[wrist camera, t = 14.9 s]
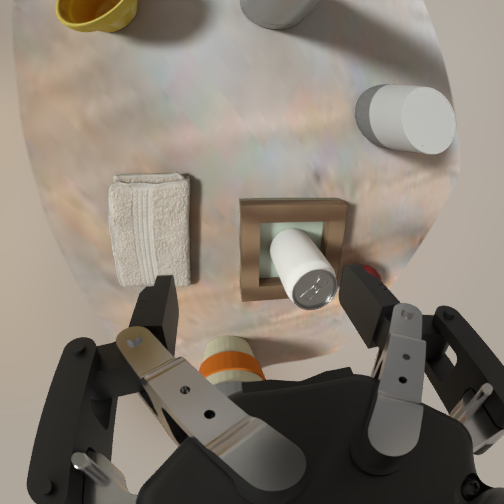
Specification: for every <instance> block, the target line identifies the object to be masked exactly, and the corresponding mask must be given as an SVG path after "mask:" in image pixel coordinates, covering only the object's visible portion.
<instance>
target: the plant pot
mask: <svg viewBox="0 0 504 504" xmlns="http://www.w3.org/2000/svg"><path fill="white" fill-rule="evenodd" d="M136 12H137V0H57V2H56V15H57V17H58V19H59V21H60V22H61V23H62V24H64V25H65V26H67V27H69V28H71V29H73V30H76V31H79V32H93V31H102V32H114V31H118V30H120V29H122V28H124V27H125V26H127V25H128V24H129V23H130V22H131V21H132V20H133V18H134V17H135V15H136Z"/></svg>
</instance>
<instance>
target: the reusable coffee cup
mask: <svg viewBox="0 0 504 504" xmlns="http://www.w3.org/2000/svg"><path fill="white" fill-rule="evenodd" d="M199 372H200V373H201V374H202V375H203V376H204V377H205V378H206V379H207V380H208V381H209V382H210V383H212V384H213V385H214V386H215V387H216V388H217V389H218V390H219V391H221V392H222V393H223V394H224V395H225V396H226V397H227V396H229V395H231V394H233V393H236V392H238V391H242V389H241V382H251V381H261V380H266V379H265V377H264V374H263V372H262V369H261V367H260V364H259V362H258V361H257V359H255V358H254V355H253V352H252V350H251V347H250V345H249V343H248V342H247V341H246V340H244V339H242V338H240V337H237V336H222V337H218V338H216V339H214V340H212V341H211V342H210V343H209V344H208V345H207V346H206V349H205V353H204V359H203V363H202V364H201V366H200V369H199Z"/></svg>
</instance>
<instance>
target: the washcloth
mask: <svg viewBox="0 0 504 504" xmlns="http://www.w3.org/2000/svg"><path fill="white" fill-rule="evenodd" d="M113 178H114V179H113V184H112V185H111V186H110V188H109V195H108V197H109V216H108V223H109V227H110V234H111V241H112V251H113V255H114V259H115V264H116V272H117V276H118V281H119V283H120V285H121V287H138V286H144V285H154V283H155V280H156V277H157V275H173V276H174V280H175V287H187V286H189V285H190V284H191V275H190V273H191V272H190V270H191V268H190V258H189V257H190V253H189V251H190V248H189V247H190V243H189V241H190V236H189V234H190V232H189V213H190V212H189V207H190V205H189V204H190V203H189V198H190V179H189V175H188V176H182V175H181V174H179V173H177V172H176V173H172V174H170V173H156V174H121V175H114V177H113Z"/></svg>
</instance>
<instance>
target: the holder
mask: <svg viewBox="0 0 504 504" xmlns="http://www.w3.org/2000/svg"><path fill="white" fill-rule="evenodd" d="M347 206H348V205H347V204H346V203H344V202H343V201H341V200H340V199H339V198H251V199H239V253H240V292H241V298H242V302H246V301H260V300H273V299H286V298H289V297H288V295H287V293H286V291H285V289H284V287H283V284H282V282H281V279H280V277H279V275H278V272H277V270H276V268H275V265H274V263H273V260H272V258H271V255H270V246H271V243H272V241H273V239H274V238H275V237H276V236H277V235H278V234H279V233H280V232H282V231H284V230H287V229H299V230H301V231H303V232H305V233H306V234H307V235H308V236H309V237H310V239H311V240H312V241H313V242H314V244H315V245H316V246H317V247H318V249H319V250H320V251H321V253H322V254H323V255H324V257H325V258H326V259H327V261H328V262H329V263H330V265H331V266H332V268H333V269H334V271H335V275H336V279H337V275H338V269H339V263H340V257H341V251H342V244H343V237H344V230H345V222H346V214H347Z"/></svg>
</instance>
